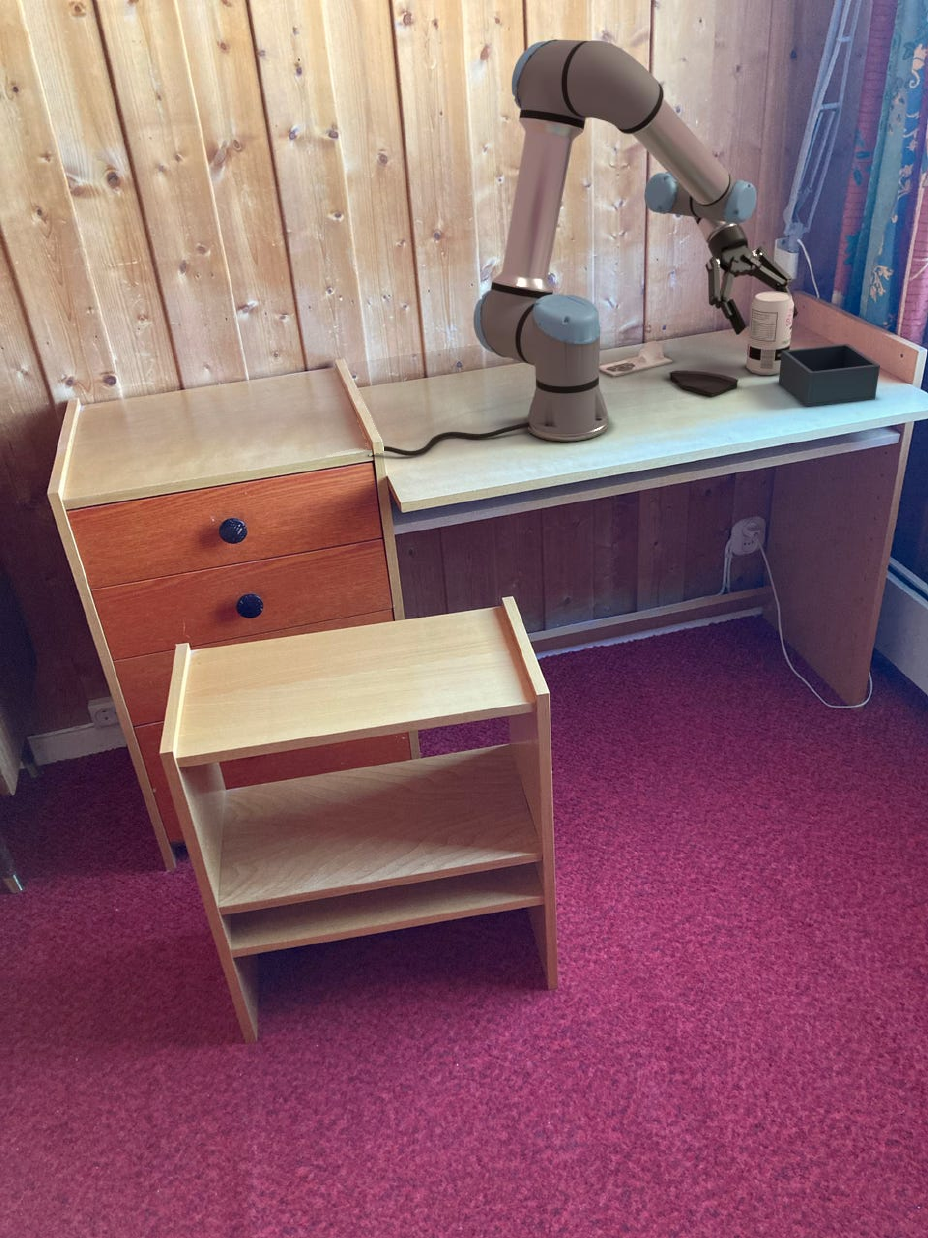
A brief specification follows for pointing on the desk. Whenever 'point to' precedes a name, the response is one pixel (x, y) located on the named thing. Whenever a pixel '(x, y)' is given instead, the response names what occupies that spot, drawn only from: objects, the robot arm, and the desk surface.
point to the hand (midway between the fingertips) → (767, 324)
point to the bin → (828, 375)
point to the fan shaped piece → (703, 382)
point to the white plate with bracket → (638, 361)
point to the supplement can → (769, 331)
